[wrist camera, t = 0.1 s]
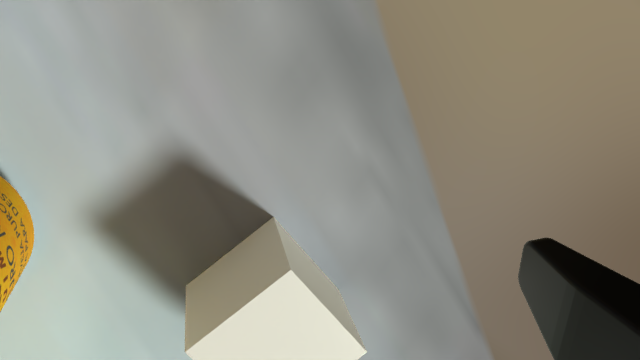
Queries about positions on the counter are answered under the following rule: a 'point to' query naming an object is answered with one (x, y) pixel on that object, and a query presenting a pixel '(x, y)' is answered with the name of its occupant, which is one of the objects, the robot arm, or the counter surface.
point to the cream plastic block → (268, 305)
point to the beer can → (13, 238)
